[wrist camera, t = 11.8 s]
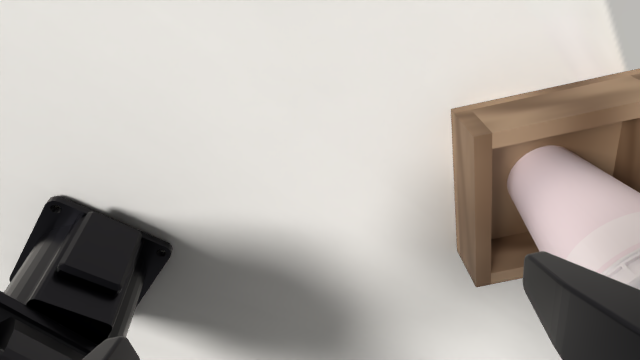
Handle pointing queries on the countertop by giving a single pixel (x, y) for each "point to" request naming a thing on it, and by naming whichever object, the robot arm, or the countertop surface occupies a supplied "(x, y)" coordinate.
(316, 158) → the countertop surface
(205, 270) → the countertop surface
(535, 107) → the socket block
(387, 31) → the countertop surface
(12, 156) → the countertop surface
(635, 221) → the smoothie
